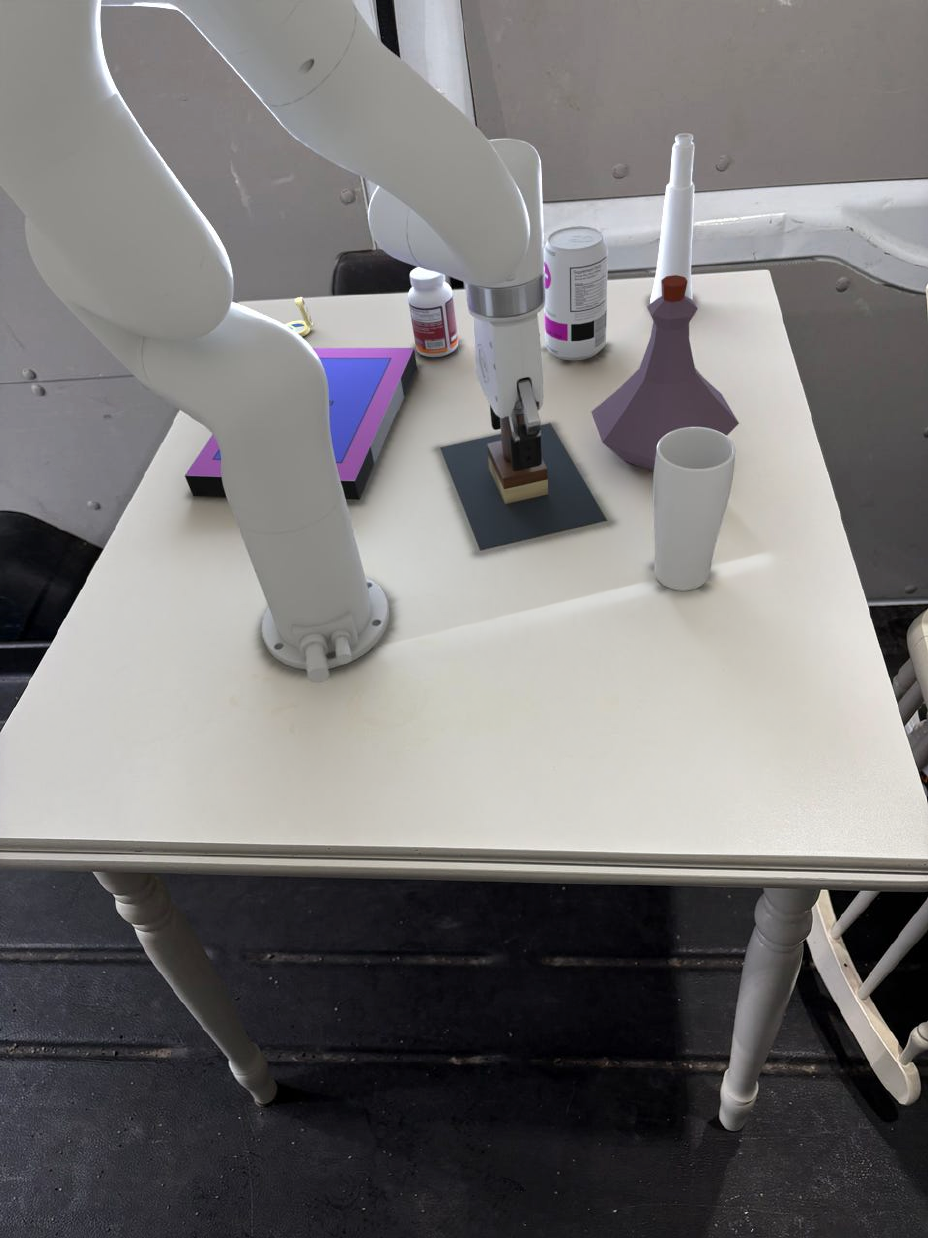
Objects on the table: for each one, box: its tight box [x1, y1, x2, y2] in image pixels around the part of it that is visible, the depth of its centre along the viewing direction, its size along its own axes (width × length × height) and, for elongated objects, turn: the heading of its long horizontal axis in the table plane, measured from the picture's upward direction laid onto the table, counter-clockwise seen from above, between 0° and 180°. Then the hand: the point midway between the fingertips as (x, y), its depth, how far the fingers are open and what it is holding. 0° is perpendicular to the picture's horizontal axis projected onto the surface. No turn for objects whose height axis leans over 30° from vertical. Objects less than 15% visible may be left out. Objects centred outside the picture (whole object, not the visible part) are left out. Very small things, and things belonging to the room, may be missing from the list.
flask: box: [590, 275, 740, 473], centre depth 90 cm, size 16×16×20 cm
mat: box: [439, 422, 608, 551], centre depth 95 cm, size 20×14×1 cm
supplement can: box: [543, 225, 609, 361], centre depth 110 cm, size 8×8×15 cm
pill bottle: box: [407, 266, 459, 358], centre depth 115 cm, size 6×6×11 cm
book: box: [184, 347, 418, 501], centre depth 107 cm, size 21×3×30 cm
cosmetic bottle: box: [649, 132, 696, 304], centre depth 114 cm, size 6×6×22 cm
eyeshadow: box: [284, 296, 314, 338], centre depth 126 cm, size 4×5×5 cm
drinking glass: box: [652, 427, 737, 592], centre depth 77 cm, size 7×7×15 cm
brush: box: [487, 402, 548, 504], centre depth 92 cm, size 7×5×10 cm
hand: (516, 445), depth 92 cm, fingers open, 7 cm apart
